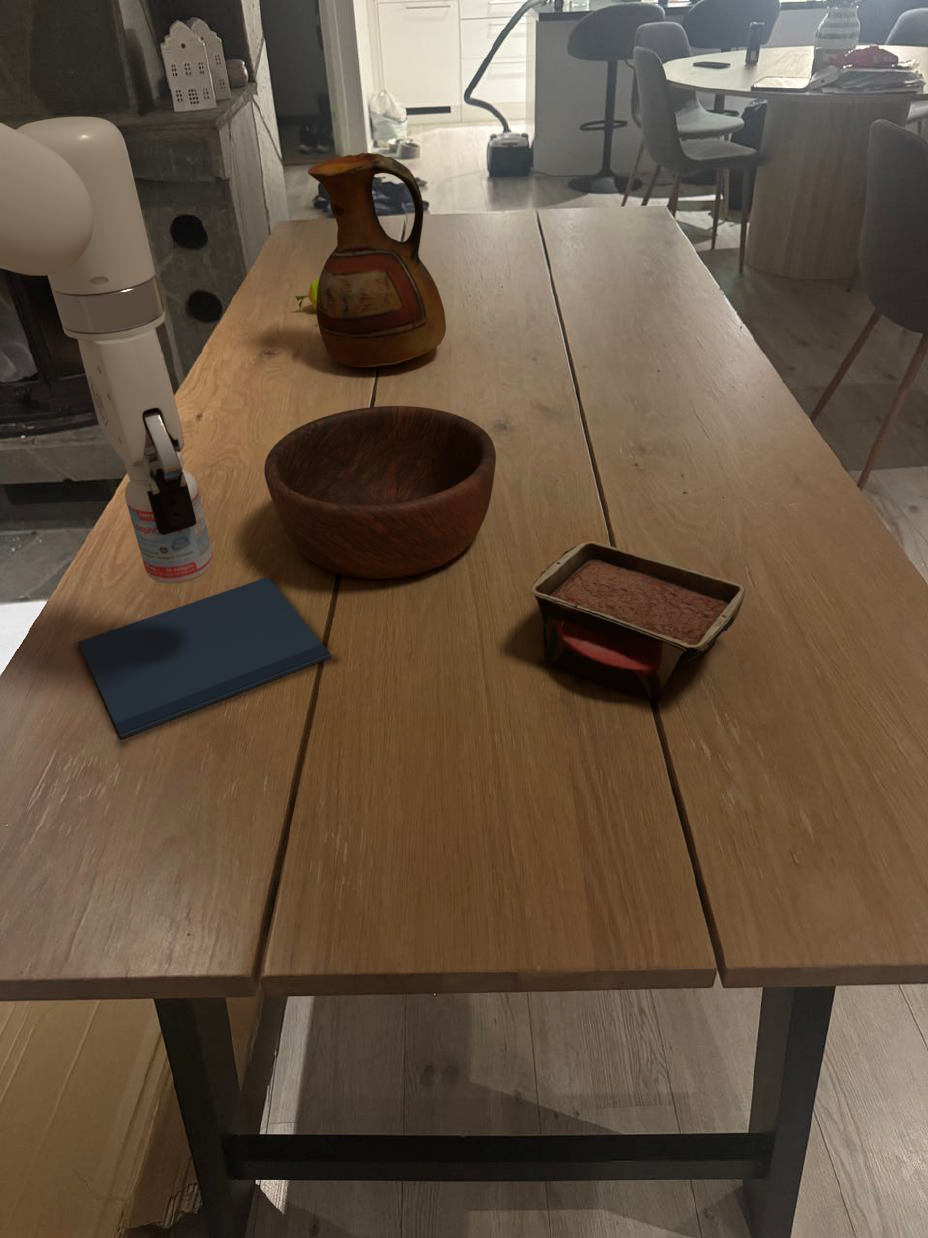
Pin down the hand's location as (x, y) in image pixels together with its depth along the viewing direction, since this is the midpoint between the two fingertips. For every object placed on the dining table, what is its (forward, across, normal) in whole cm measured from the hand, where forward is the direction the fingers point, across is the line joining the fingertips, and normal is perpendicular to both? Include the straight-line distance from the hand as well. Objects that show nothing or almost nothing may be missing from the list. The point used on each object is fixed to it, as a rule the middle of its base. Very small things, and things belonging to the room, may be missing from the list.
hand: (165, 510), depth 80 cm
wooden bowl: (+16, -9, +25) cm, 31 cm away
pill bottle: (+6, 0, 0) cm, 6 cm away
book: (+16, 0, 0) cm, 16 cm away
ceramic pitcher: (+16, -58, +50) cm, 78 cm away
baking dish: (+16, +23, +34) cm, 44 cm away
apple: (+16, -85, +51) cm, 100 cm away
